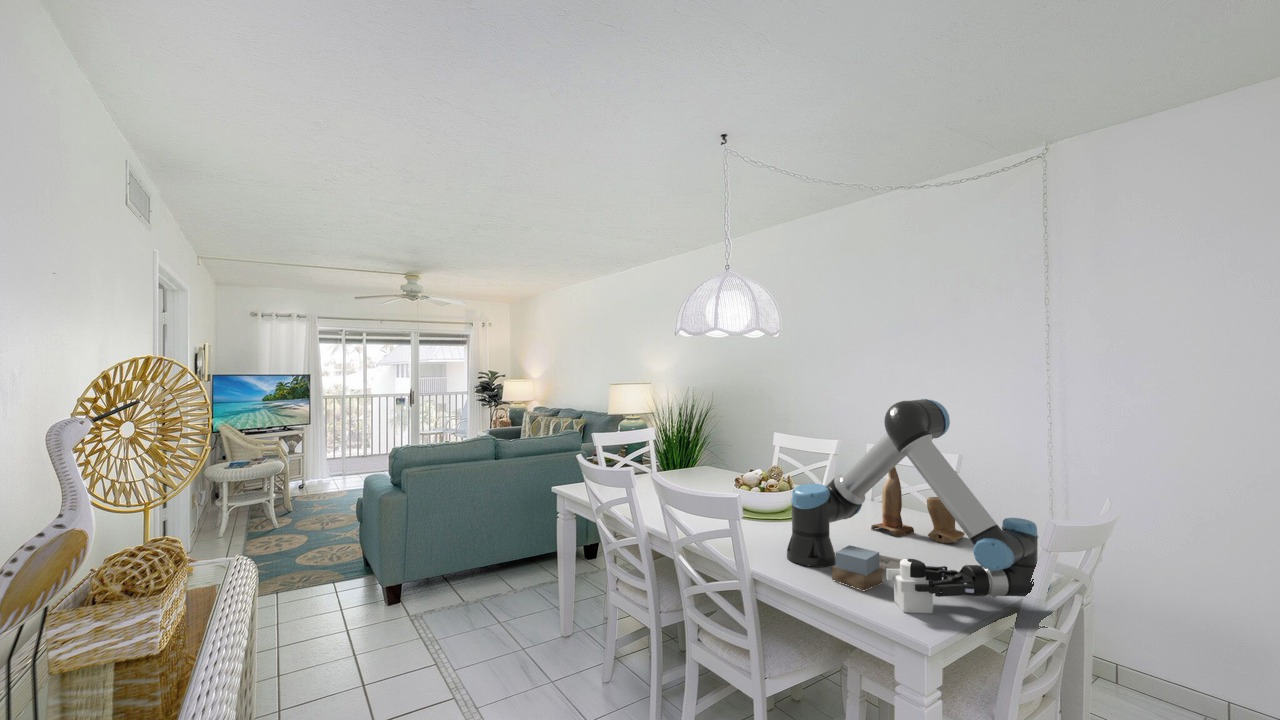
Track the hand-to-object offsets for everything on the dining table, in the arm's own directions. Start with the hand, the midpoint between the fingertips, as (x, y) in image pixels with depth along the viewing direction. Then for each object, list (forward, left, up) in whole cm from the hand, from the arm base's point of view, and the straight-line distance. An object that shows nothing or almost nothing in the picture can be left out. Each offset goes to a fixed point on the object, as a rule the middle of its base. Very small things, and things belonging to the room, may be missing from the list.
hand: (893, 580), depth 145 cm
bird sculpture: (-33, +65, -7) cm, 73 cm away
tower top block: (-15, +9, -3) cm, 18 cm away
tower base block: (-15, +9, -8) cm, 19 cm away
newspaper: (-21, +29, -8) cm, 36 cm away
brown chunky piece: (-17, +71, -7) cm, 73 cm away
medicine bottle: (+3, +4, -7) cm, 9 cm away
